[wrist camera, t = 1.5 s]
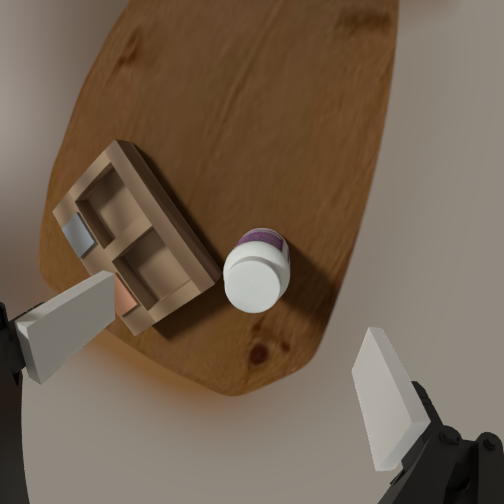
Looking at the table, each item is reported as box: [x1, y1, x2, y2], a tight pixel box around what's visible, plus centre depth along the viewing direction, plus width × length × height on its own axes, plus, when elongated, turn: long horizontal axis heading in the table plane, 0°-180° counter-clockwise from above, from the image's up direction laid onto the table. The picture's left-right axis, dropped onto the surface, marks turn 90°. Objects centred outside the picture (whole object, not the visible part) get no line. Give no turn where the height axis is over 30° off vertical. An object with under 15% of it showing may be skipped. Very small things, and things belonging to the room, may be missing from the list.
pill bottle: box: [223, 228, 290, 313], centre depth 25 cm, size 5×5×10 cm
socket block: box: [53, 139, 223, 336], centre depth 29 cm, size 12×18×4 cm
